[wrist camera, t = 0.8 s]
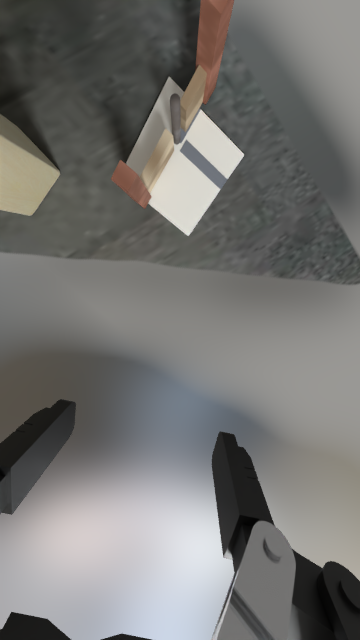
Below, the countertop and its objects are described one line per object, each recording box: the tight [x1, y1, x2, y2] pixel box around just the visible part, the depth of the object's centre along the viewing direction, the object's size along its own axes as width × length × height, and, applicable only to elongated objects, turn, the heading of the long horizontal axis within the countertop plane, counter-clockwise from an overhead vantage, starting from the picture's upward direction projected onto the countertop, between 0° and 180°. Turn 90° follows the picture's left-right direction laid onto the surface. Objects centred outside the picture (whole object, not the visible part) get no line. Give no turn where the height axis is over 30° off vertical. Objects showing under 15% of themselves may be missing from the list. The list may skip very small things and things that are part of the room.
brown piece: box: [170, 0, 234, 145], centre depth 18 cm, size 2×7×10 cm, turn 143°
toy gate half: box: [111, 128, 174, 209], centre depth 20 cm, size 8×2×9 cm, turn 144°
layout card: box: [126, 77, 244, 236], centre depth 24 cm, size 12×12×1 cm
